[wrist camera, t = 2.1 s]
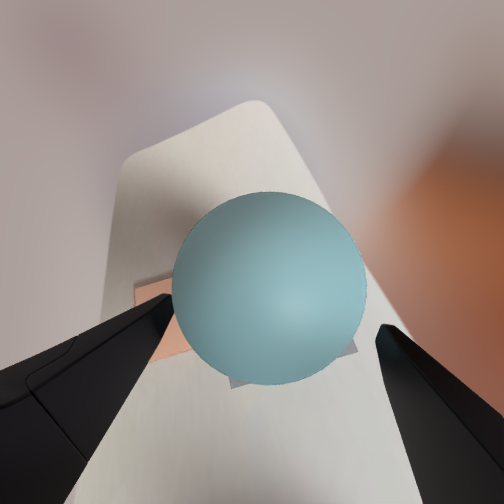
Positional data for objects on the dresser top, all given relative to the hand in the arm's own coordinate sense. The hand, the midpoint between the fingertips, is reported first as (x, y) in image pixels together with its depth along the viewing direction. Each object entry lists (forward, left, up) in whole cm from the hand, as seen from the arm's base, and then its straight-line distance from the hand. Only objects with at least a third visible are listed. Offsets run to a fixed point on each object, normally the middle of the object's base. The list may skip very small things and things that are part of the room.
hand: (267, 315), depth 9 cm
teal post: (+1, 0, -8) cm, 8 cm away
